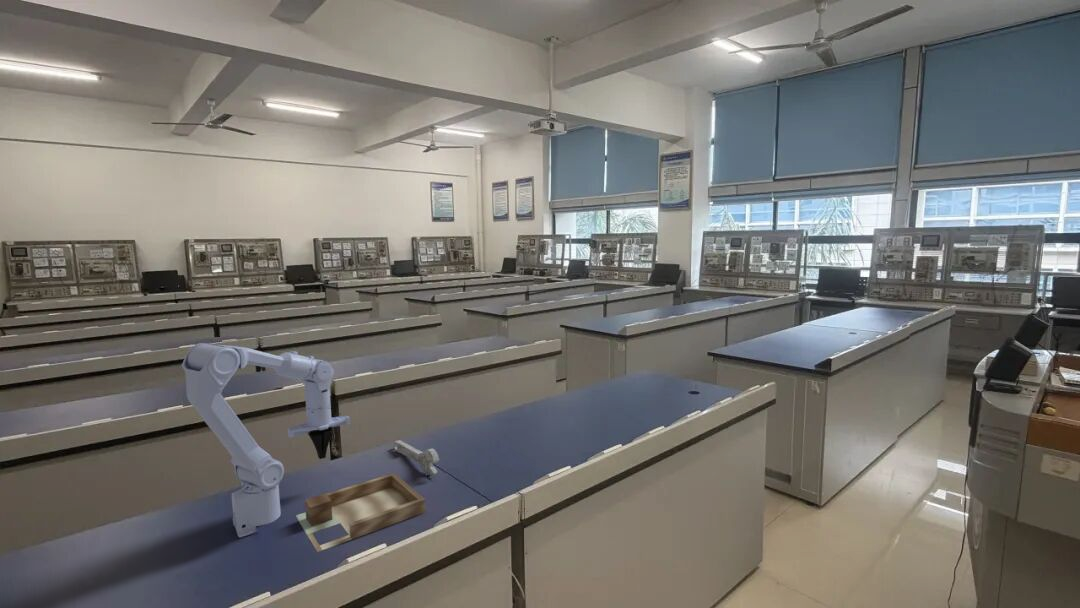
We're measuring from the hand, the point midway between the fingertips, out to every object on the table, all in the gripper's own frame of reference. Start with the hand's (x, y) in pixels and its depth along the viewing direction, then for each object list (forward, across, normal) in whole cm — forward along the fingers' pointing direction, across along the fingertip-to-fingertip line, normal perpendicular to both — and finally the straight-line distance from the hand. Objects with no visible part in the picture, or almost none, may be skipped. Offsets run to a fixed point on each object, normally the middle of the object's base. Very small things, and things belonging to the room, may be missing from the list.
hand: (321, 457), depth 128 cm
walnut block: (+8, -5, -15) cm, 18 cm away
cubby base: (+9, +3, -19) cm, 21 cm away
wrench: (+10, +26, 0) cm, 27 cm away
